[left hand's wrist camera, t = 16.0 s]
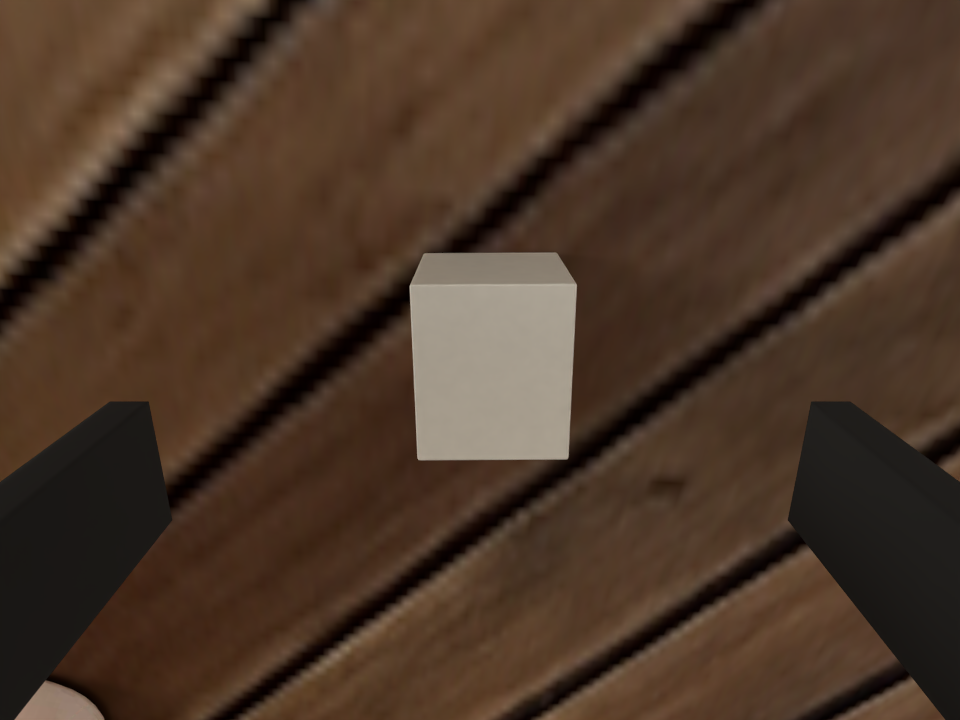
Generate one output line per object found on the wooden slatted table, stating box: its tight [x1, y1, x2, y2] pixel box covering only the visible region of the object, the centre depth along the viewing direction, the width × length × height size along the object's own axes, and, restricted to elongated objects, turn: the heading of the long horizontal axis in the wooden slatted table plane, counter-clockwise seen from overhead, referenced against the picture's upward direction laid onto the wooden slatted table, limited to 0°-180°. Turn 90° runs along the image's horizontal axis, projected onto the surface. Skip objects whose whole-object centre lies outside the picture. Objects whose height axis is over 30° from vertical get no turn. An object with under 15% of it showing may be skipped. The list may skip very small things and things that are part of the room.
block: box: [410, 253, 577, 460], centre depth 19 cm, size 4×5×4 cm
